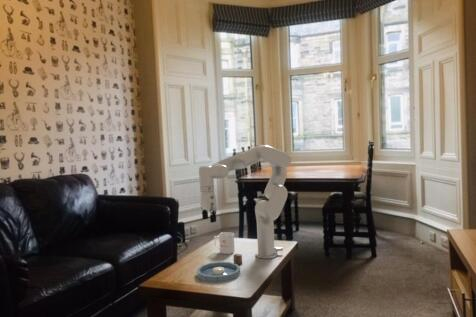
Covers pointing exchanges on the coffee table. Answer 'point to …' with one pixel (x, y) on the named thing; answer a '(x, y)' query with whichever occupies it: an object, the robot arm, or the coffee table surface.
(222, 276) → the ring tray
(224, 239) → the mug
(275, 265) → the coffee table surface
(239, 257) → the walnut bead
